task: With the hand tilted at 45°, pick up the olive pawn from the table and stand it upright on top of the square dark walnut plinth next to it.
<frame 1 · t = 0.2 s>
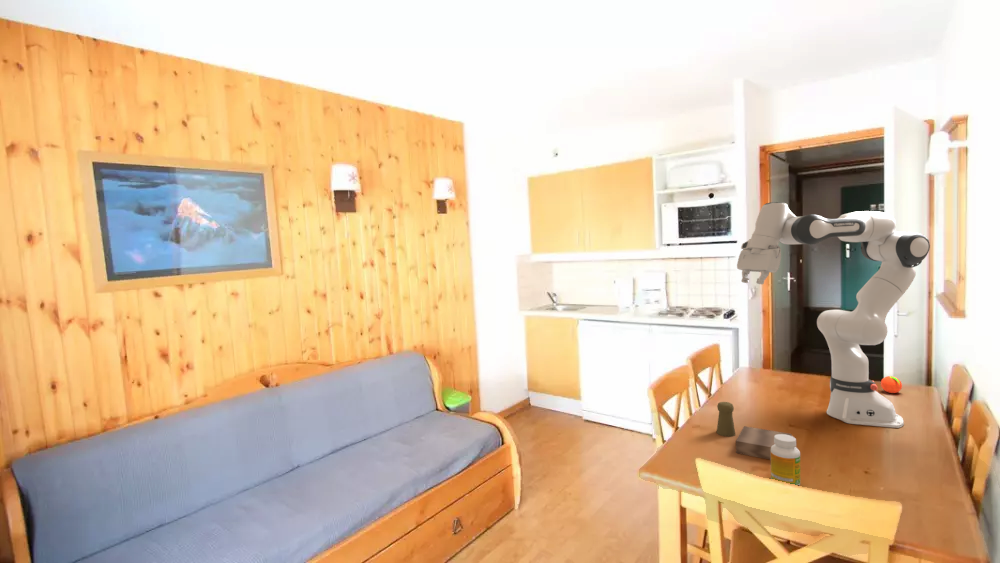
hand: (751, 283, 172), 52 cm above the table, tool tilted 20°, fingers open, 8 cm apart
olive pawn: (725, 433, 170), on the table
supplement bottle: (785, 482, 135), on the table
clementine: (892, 393, 201), on the table
walnut plinth: (764, 449, 156), on the table
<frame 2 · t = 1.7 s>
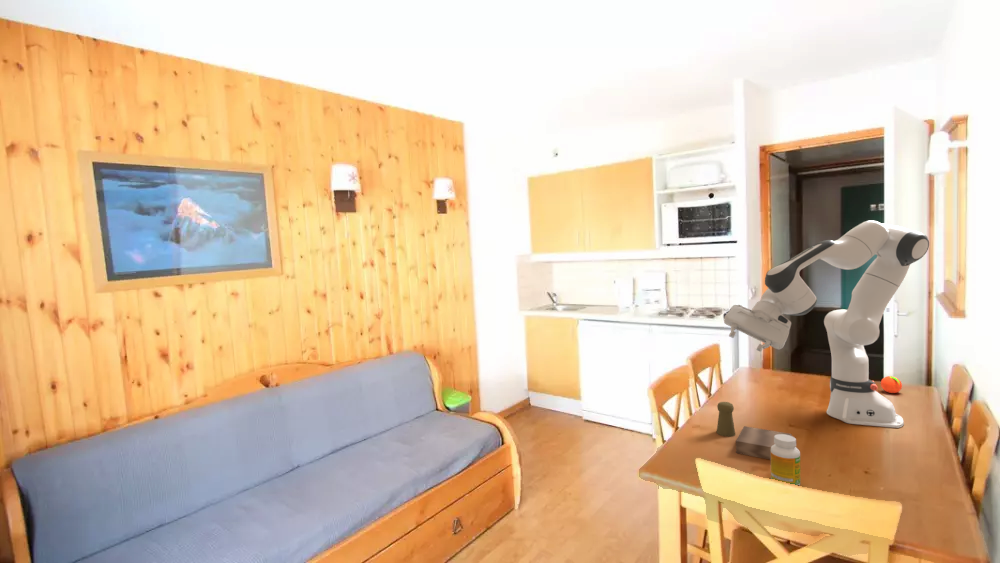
hand: (744, 343, 164), 33 cm above the table, tool tilted 55°, fingers open, 8 cm apart
nothing on the table moved.
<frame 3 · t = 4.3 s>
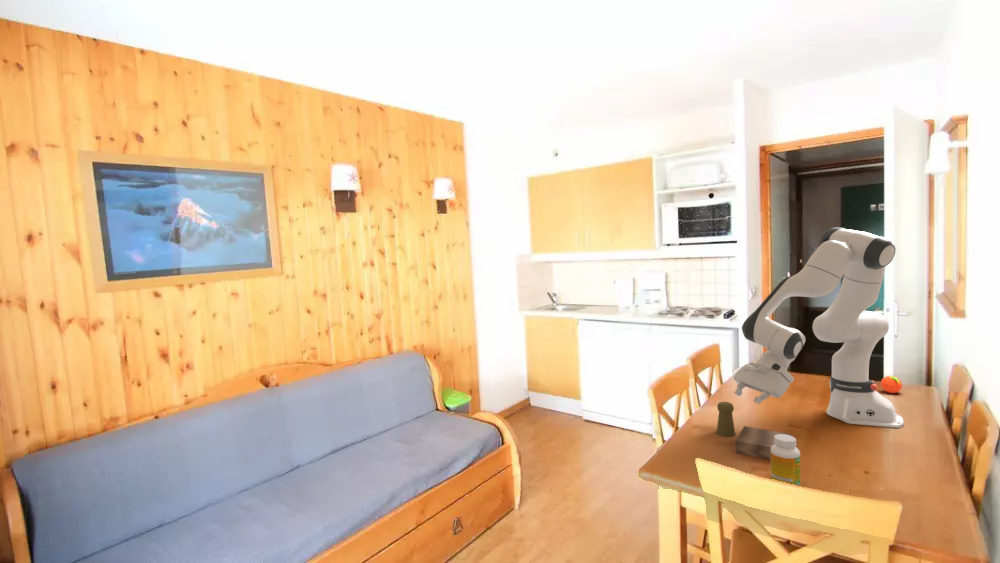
hand: (746, 398, 169), 12 cm above the table, tool tilted 45°, fingers open, 8 cm apart
nothing on the table moved.
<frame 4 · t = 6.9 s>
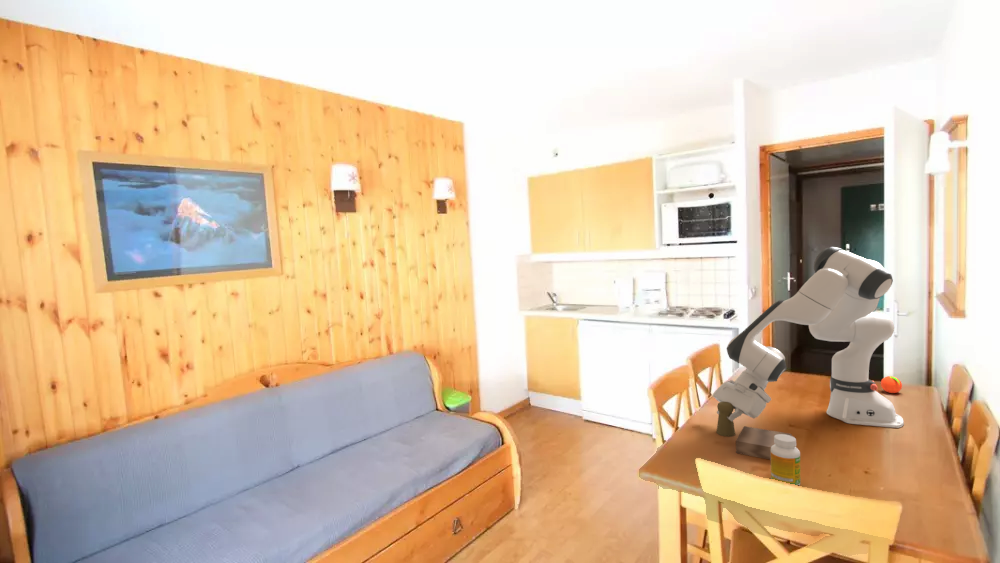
hand: (724, 417, 169), 6 cm above the table, tool tilted 45°, fingers closed on olive pawn, 4 cm apart
olive pawn: (725, 433, 170), on the table, touching gripper
everything else where it was.
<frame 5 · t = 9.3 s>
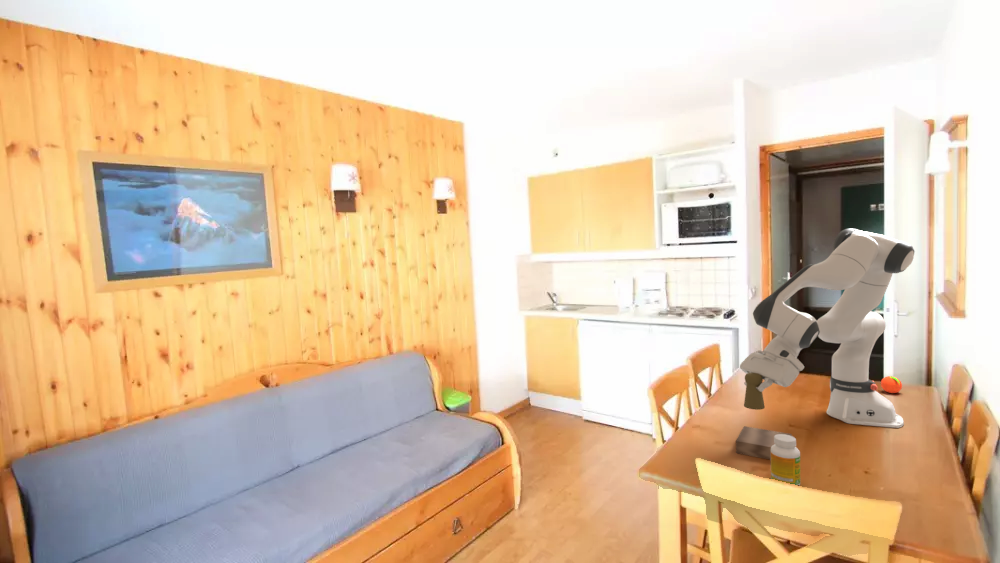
hand: (752, 388, 157), 19 cm above the table, tool tilted 45°, fingers closed on olive pawn, 4 cm apart
olive pawn: (754, 407, 158), point 13 cm above the table, touching gripper
everything else where it was.
when the fingers open (11 cm above the table, at t = 11.9 s): olive pawn drops 1 cm, resting on walnut plinth.
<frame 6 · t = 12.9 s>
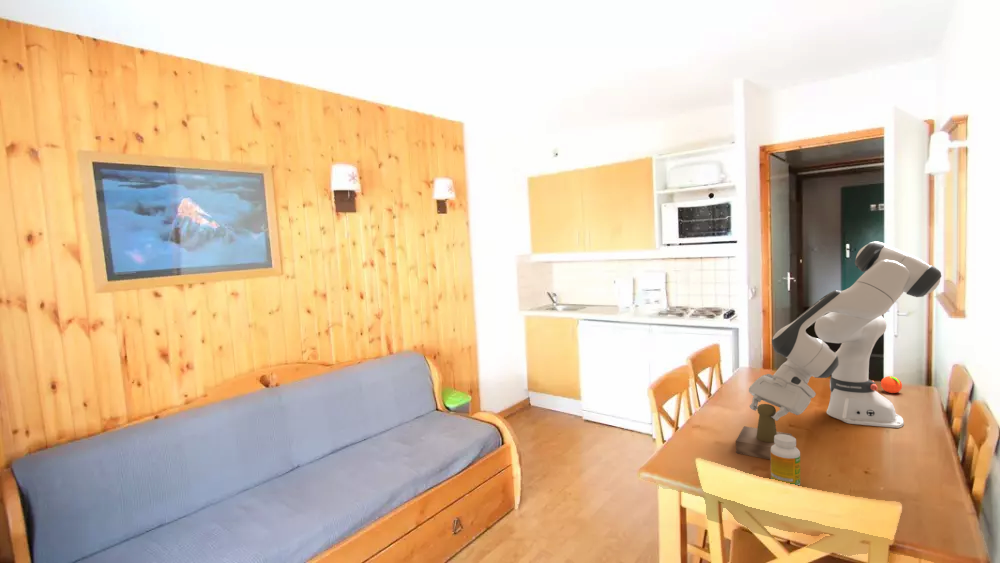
hand: (762, 413, 155), 12 cm above the table, tool tilted 45°, fingers open, 8 cm apart
olive pawn: (766, 439, 154), point 4 cm above the table, touching gripper, walnut plinth
everything else where it was.
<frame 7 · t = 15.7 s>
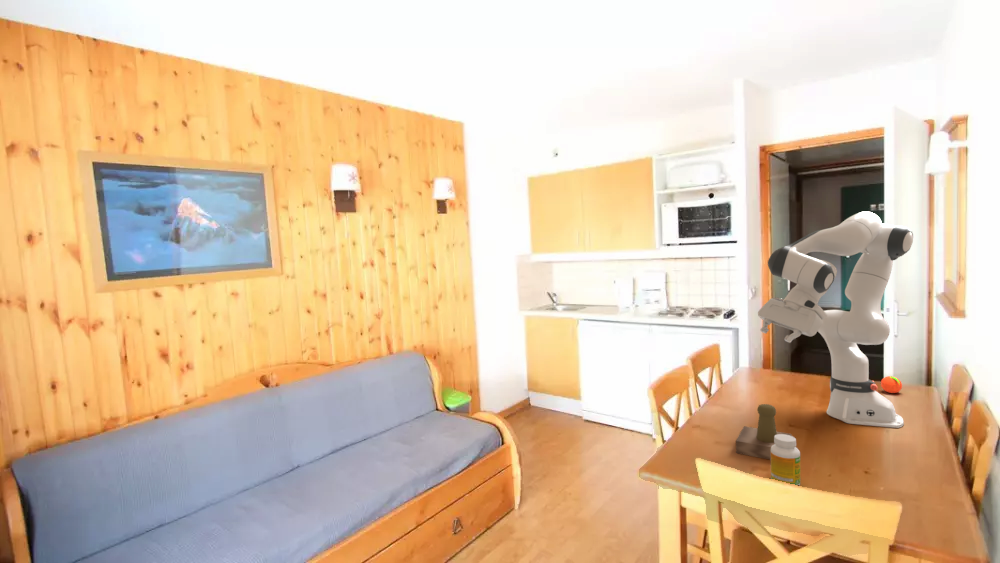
hand: (774, 336, 162), 35 cm above the table, tool tilted 40°, fingers open, 8 cm apart
olive pawn: (767, 439, 154), point 4 cm above the table, touching walnut plinth
everything else where it was.
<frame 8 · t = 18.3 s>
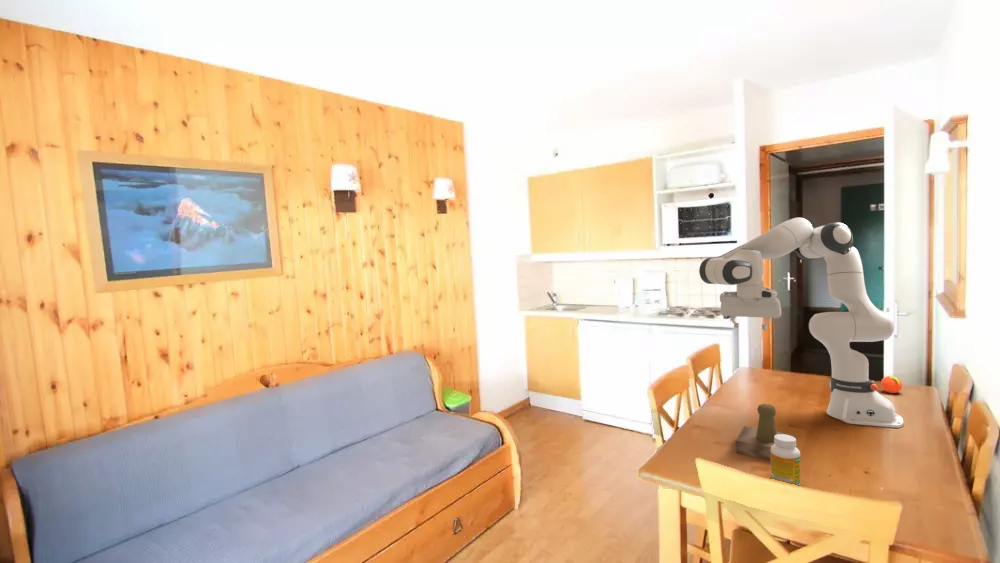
hand: (750, 328, 180), 34 cm above the table, tool pointing down, fingers open, 8 cm apart
nothing on the table moved.
at the end: olive pawn inside the target area on the walnut plinth (1.3 cm from its centre), point 3.8 cm above the walnut plinth's base; olive pawn tilted 0°; the gripper is holding nothing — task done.
